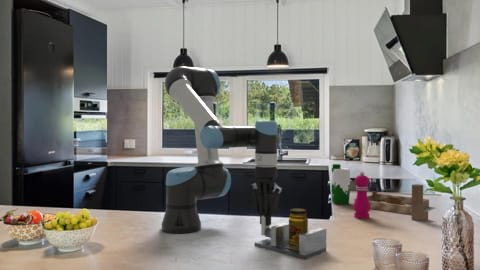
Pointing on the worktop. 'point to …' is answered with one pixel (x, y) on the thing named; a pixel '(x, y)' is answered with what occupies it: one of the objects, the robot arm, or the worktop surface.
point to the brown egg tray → (393, 206)
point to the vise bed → (284, 250)
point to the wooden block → (418, 203)
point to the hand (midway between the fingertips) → (265, 234)
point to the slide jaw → (278, 234)
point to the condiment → (297, 227)
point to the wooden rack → (389, 199)
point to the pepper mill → (361, 197)
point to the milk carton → (340, 184)
